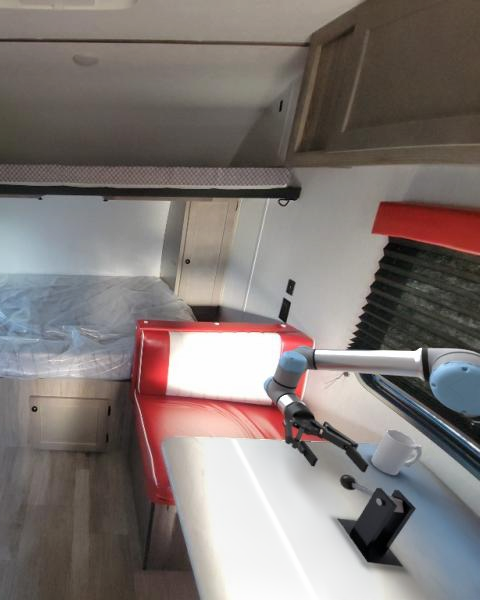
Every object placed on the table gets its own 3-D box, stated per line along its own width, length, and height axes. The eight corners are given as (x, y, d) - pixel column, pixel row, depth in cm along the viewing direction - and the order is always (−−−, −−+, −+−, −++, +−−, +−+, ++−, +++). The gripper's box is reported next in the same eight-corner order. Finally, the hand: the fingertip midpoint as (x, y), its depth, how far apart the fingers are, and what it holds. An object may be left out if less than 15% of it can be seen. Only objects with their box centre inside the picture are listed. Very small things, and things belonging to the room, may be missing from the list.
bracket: (335, 521, 84) (361, 476, 78) (367, 525, 83) (395, 480, 78) (364, 565, 74) (396, 517, 68) (400, 570, 74) (435, 522, 68)
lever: (336, 486, 87) (336, 471, 88) (350, 487, 87) (349, 473, 88) (390, 514, 72) (389, 496, 73) (406, 516, 72) (406, 498, 73)
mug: (376, 472, 100) (394, 442, 96) (365, 456, 106) (381, 426, 102) (415, 483, 98) (436, 452, 93) (402, 466, 104) (420, 436, 99)
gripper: (329, 425, 110) (380, 481, 90) (254, 416, 110) (289, 470, 90) (338, 407, 107) (392, 460, 87) (261, 398, 107) (298, 449, 88)
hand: (340, 465), depth 89 cm, fingers open, 13 cm apart
